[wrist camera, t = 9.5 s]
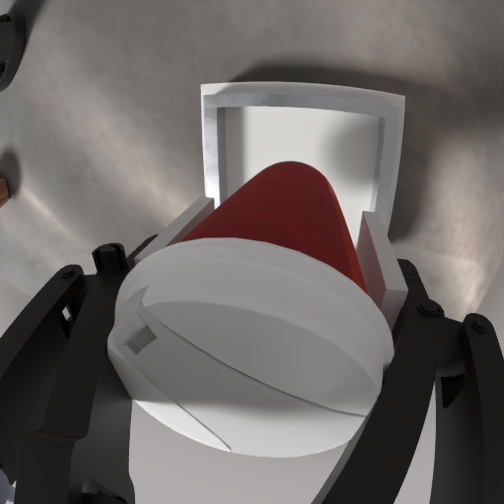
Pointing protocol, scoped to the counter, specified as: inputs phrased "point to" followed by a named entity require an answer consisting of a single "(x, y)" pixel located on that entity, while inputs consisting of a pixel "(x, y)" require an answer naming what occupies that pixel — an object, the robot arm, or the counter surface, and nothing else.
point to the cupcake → (3, 192)
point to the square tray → (305, 140)
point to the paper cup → (256, 323)
